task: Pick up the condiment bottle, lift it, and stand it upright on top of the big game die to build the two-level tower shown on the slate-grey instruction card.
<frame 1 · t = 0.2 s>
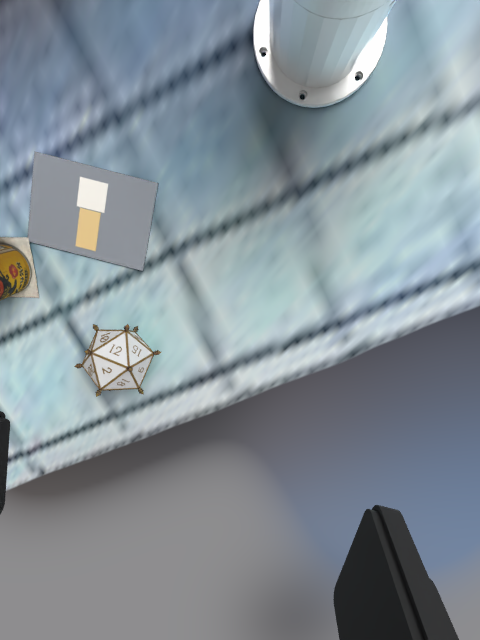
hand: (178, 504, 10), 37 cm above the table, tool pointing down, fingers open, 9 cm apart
game die: (130, 346, 49), on the table
instruction card: (91, 213, 44), on the table
condiment: (2, 267, 47), on the table, touching instruction card
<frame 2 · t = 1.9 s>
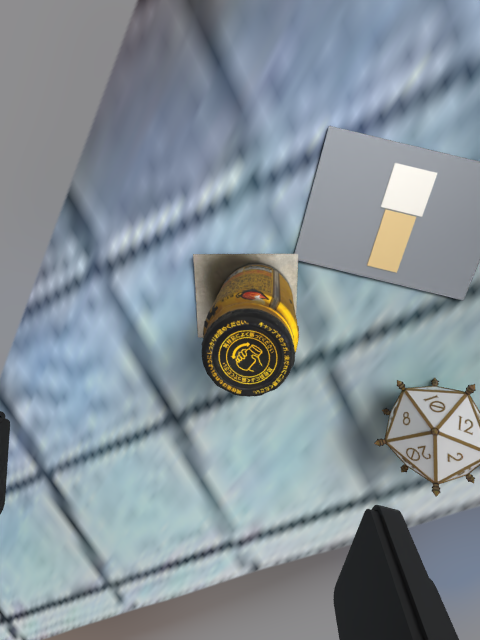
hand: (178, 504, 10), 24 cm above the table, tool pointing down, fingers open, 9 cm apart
game die: (416, 405, 35), on the table
instruction card: (398, 217, 30), on the table
condiment: (246, 296, 33), on the table, touching instruction card
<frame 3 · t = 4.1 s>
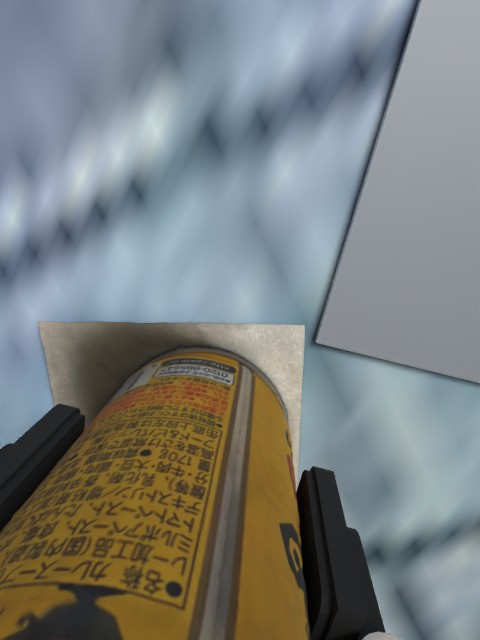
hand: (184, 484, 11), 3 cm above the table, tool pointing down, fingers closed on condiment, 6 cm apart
condiment: (177, 419, 14), on the table, touching gripper
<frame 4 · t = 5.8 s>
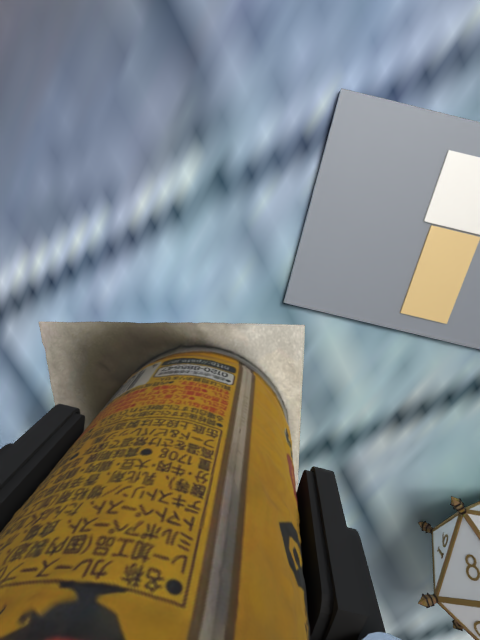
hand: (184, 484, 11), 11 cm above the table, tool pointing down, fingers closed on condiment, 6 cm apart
game die: (469, 515, 23), on the table
instruction card: (449, 237, 19), on the table
condiment: (178, 418, 14), point 8 cm above the table, touching gripper
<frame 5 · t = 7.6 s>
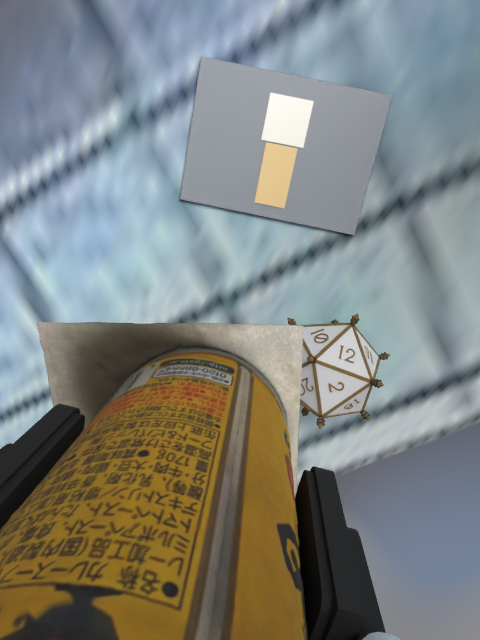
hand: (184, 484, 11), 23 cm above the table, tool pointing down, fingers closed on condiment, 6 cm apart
game die: (321, 350, 34), on the table
instruction card: (280, 150, 30), on the table
condiment: (176, 419, 14), point 20 cm above the table, touching gripper
when the fingers open (12 cm above the table, at t = 10.7 s): condiment drops 2 cm, resting on game die.
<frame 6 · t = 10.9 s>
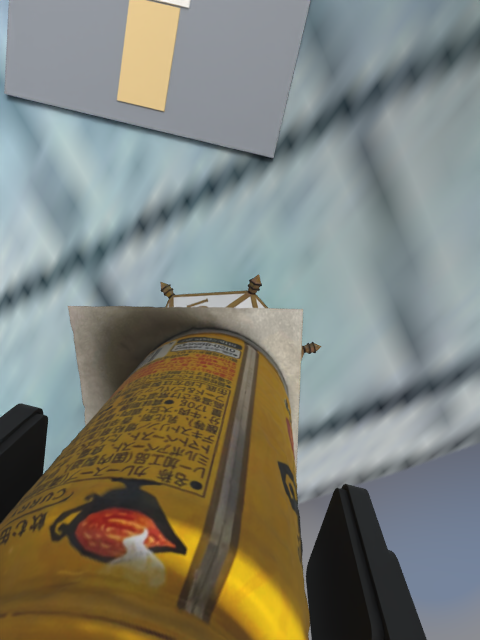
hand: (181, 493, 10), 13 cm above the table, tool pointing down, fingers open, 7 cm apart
game die: (230, 337, 23), on the table, touching condiment
instruction card: (156, 13, 18), on the table
condiment: (189, 394, 15), point 8 cm above the table, touching game die
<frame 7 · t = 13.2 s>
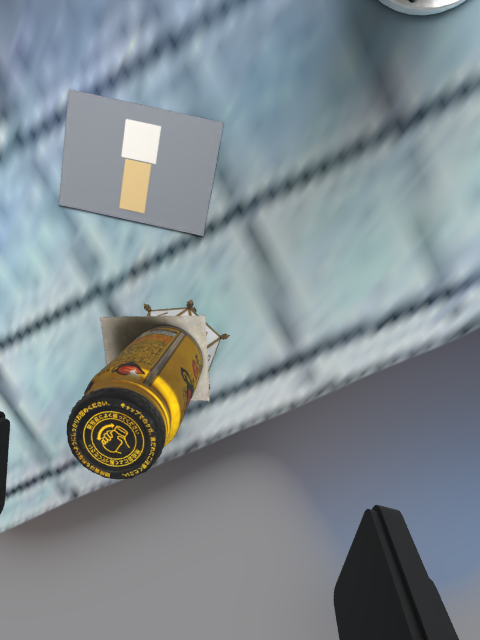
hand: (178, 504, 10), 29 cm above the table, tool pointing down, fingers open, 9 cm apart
game die: (185, 333, 40), on the table, touching condiment
instruction card: (139, 165, 36), on the table
condiment: (157, 357, 32), point 8 cm above the table, touching game die
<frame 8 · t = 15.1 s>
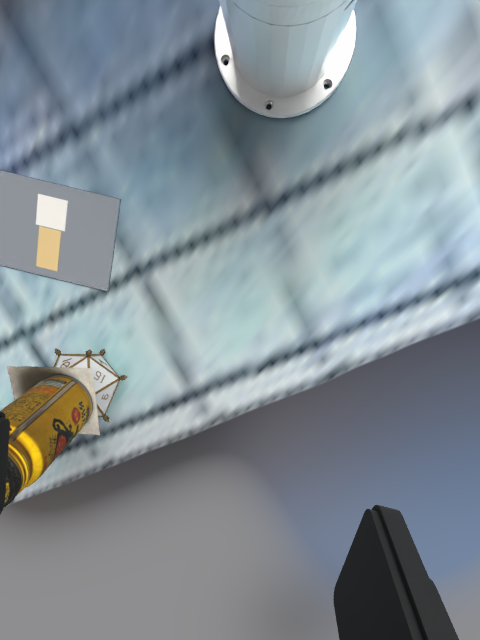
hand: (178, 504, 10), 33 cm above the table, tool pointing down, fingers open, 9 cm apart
game die: (98, 370, 47), on the table, touching condiment
instruction card: (51, 231, 42), on the table
condiment: (56, 399, 39), point 8 cm above the table, touching game die
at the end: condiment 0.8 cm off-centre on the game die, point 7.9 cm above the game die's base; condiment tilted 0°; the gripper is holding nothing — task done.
